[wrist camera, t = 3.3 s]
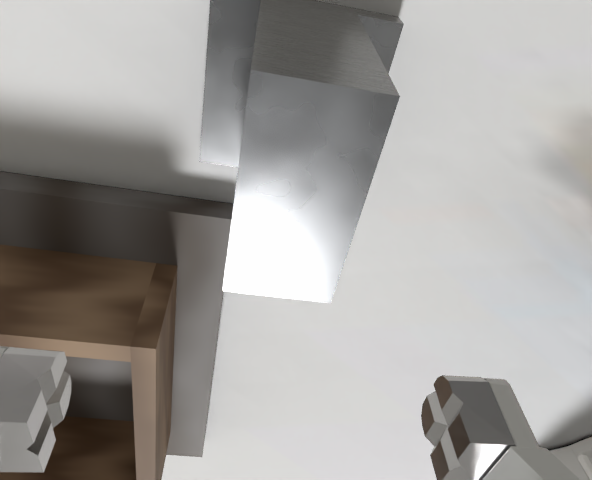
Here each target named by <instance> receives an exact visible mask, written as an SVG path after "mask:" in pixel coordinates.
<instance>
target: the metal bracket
mask: <svg viewBox="0 0 592 480" xmlns="http://www.w3.org/2000/svg"><path fill="white" fill-rule="evenodd" d="M403 25H404V24H403V22H402V21H401V20H400V19H399V17H395V16H390V15H385V14H381V13H376V12H371V11H366V10H361V9H356V8H351V7H346V6H341V5H336V4H331V3H326V2H321V1H316V0H210V14H209V29H208V44H207V58H206V73H205V88H204V102H203V117H202V132H201V146H200V161H199V162H204V163H211V164H217V165H224V166H231V167H237V168H238V173H237V181H236V189H235V197H234V205H233V213H232V221H231V229H230V236H229V244H228V252H227V260H226V268H225V276H224V284H223V291H228V292H236V293H245V294H254V295H263V296H271V297H280V298H289V299H298V300H307V301H315V302H324V303H331V302H332V299H333V296H334V293H335V290H336V287H337V284H338V281H339V278H340V275H341V272H342V269H343V266H344V263H345V260H346V257H347V254H348V251H349V248H350V245H351V242H352V239H353V236H354V233H355V230H356V227H357V224H358V221H359V218H360V215H361V212H362V209H363V206H364V203H365V200H366V197H367V194H368V190H369V187H370V184H371V181H372V178H373V175H374V172H375V169H376V166H377V163H378V160H379V157H380V154H381V151H382V148H383V145H384V142H385V139H386V136H387V133H388V130H389V127H390V124H391V121H392V118H393V115H394V112H395V109H396V106H397V103H398V100H399V97H400V96H399V94H398V92H397V90H396V88H395V86H394V84H393V82H392V80H391V78H390V76H389V75H388V73H389V70H390V67H391V63H392V60H393V57H394V54H395V50H396V47H397V44H398V41H399V37H400V34H401V31H402V28H403Z"/></svg>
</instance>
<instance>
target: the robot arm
mask: <svg viewBox="0 0 592 480" xmlns="http://www.w3.org/2000/svg"><path fill="white" fill-rule="evenodd" d="M66 363H67V359H66V356H65V352H64V351H52V350H39V349H27V348H15V347H4V346H0V472H44V470H45V468H46V465H47V463H48V460H49V457H50V455H51V452H52V449H53V447H54V444H55V441H56V438H55V435H54V431H53V428H54V427H55V426H56V425H58V424H59V423H60V422H61V421H62V420H64V417H65V414H66V412H67V409H68V406H69V401H70V396H71V378H70V374H68V373H67V372H66V371H64V368H65V366H66ZM434 387H435V390H436V391H435V392H433V393H431V394H429V395H428V396H427V397H426V399H425V401H424V403H423V406H422V415H421V417H422V426H423V430H424V434H425V437H426V438H427V439H428V440H429V441H430V442H431V443H432V444H433V445H434V448H433V450H432V453H431V455H430V456H431V459H432V463H433V467H434V470H435V474H436V477H437V480H592V437H590V438H587V439H584V440H582V441H579V442H577V443H575V444H572V445H570V446H567V447H563V448H559V449H555V450H550V451H549V450H548V449H546V448H541V447H539V445H538V443H537V441H536V439H535V436H534V434H533V432H532V430H531V428H530V426H529V424H528V422H527V420H526V417H525V415H524V413H523V411H522V409H521V407H520V405H519V403H518V401H517V398H516V396H515V394H514V392H513V390H512V388H511V386H510V384H509V383H508V382H507V381H506V380H504V379H490V378H481V377H465V376H444V375H442V376H440V377H438V378H437V380H436V381H435V383H434Z"/></svg>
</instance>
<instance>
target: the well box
mask: <svg viewBox="0 0 592 480" xmlns="http://www.w3.org/2000/svg"><path fill="white" fill-rule="evenodd" d="M233 205H234V204H231V203H223V202H216V201H209V200H202V199H195V198H187V197H180V196H173V195H166V194H159V193H152V192H144V191H137V190H130V189H123V188H116V187H108V186H101V185H94V184H87V183H80V182H72V181H65V180H58V179H51V178H44V177H37V176H29V175H22V174H15V173H8V172H1V171H0V346H4V347H15V348H27V349H39V350H52V351H64V352H65V356H66V359H67V363H66V366H65V368H64V371H66V372H67V373H68V374H70V378H71V396H70V401H69V406H68V409H67V412H66V414H65V417H64V420H62V421H61V422H60V423H59V424H58V425H56V426H55V427H54V428H53V431H54V435H55V438H56V441H55V444H54V447H53V449H52V452H51V455H50V457H49V460H48V463H47V465H46V468H45V470H44V472H0V480H161V478H162V473H163V468H164V462H165V457H166V455H179V456H195V457H202V454H203V446H204V439H205V431H206V423H207V416H208V408H209V400H210V392H211V385H212V377H213V369H214V361H215V354H216V346H217V338H218V330H219V323H220V315H221V307H222V299H223V292H224V291H223V284H224V276H225V268H226V260H227V252H228V244H229V236H230V229H231V221H232V213H233Z"/></svg>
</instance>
